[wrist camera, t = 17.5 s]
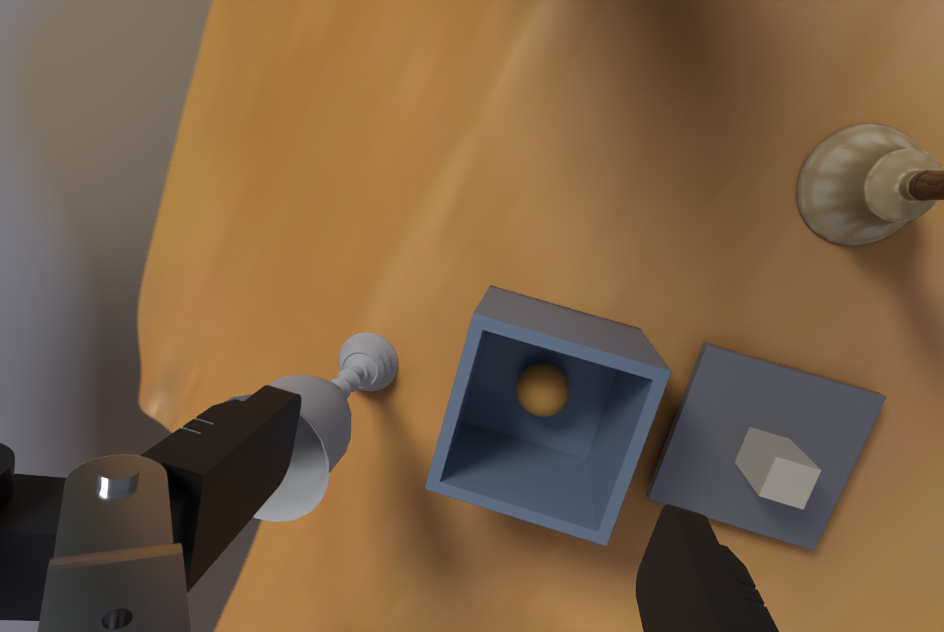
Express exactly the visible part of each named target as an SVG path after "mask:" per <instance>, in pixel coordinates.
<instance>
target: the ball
mask: <svg viewBox="0 0 944 632" xmlns="http://www.w3.org/2000/svg"><path fill="white" fill-rule="evenodd" d="M516 394H517V398H518V401H519V403H520V404H521V406H522V407H523V408H524V409H525V410H526V411H527V412H529V413H531V414H532V415H535V416H540V417H547V416H552V415H554V414H556V413H558V412H559V411H560V410H562V409H563V407H564V406H565V405H566V403H567V401H568V398H569V394H570V387H569V382H568V380H567V377H566V376H565V374H564V373H563V372H562V371H561V370H560V369H559V368H557V367H556V366H554V365H551V364H547V363H538V364H534V365H531V366H529V367H528V368H526V369H525V370H524V371H523V372H522V373H521V375H520V376H519V378H518V381H517V385H516Z"/></svg>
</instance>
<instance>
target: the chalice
mask: <svg viewBox="0 0 944 632" xmlns="http://www.w3.org/2000/svg"><path fill="white" fill-rule="evenodd" d="M339 370H340V373H339V374H338V377H337V378H335V379H333V380H332V381H328V380H326V379H323V378H320V377H314V376H308V375H294V376H287V377H281V378H279V379H277V380H275V381H273V382H272V383H270V384H268V385H270V386H273V387H276V388H280V389H283V390H287V391H290V392H293V393H297V394H300V395H301V399H302V403H301V410H300V415H299V420H298V426H297V431H296V436H295V442H294V447H293V452H292V457H291V462H290V465H289V468H288V471H287V473H286V475H285V477H284V479H283V481H282V483H281V484H280V486H279V487H278V488H277V490H276V491H275V492H274V493H273V494H272V495H271V496H270V498H269V499H268V500H267V501H266V502H265V503H264V505H263V506H262V507H261V508H260V509H259V510H258V512H257V513H256V514H255V515H254V516H253V517H254V518H257V519H262V520H267V521H272V522H281V521H291V520H295V519H297V518H299V517H301V516H303V515H306V514H308V513H310V512H311V511H312V510H313V509H314V508H315V507H316V505H317V504H318V503H319V502H320V501H321V500H322V499H323V496H324V493H325V491H326V488H327V485H328V482H329V473H330V472H331V470H332V469H333V468H334V467H335V465H336V464H337V463H338V461H339V460H340V459H341V458H342V456H343V455H344V454H345V453H346V450H347V447H348V444H349V442H350V438H351V411H350V408H349V404H348V401H347V398H348V397H349V395H350V393H351V392H354V391H356V390H362V391H371V392H372V391H378V390H381V389H383V388H385V387H387V386H388V385H389V384H390V383H391V382H392V381H393V380H394V378H395V376H396V374H397V371H398V359H397V355H396V352H395V350H394V349H393V347H392V345H391V344H390V343H389V342H388V341H387V340H386V339H384V338H383V337H381V336H379V335H377V334H375V333H367V332H364V333H359V334H355V335H353V336H352V337H350V338H348V339H347V341H346V342H345V343H344V344H343V345H342V348H341V350H340V353H339ZM252 395H253V394H252ZM250 396H251V395H245V396H238V397H233V398H231V399H229V400H228V401H231V400H234V399H237V400H240V401H245V400H246V399H247V398H249V397H250ZM226 402H227V401H226Z"/></svg>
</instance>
